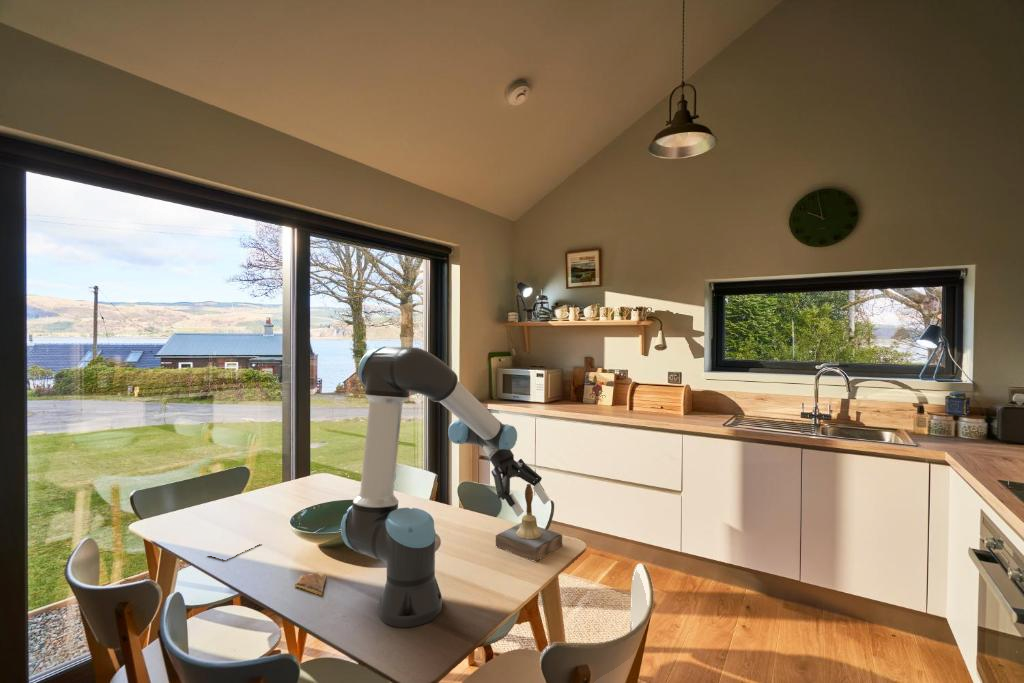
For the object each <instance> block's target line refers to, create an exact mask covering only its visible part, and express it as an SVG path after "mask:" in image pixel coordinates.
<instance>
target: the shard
mask: <svg viewBox="0 0 1024 683" xmlns="http://www.w3.org/2000/svg"><path fill="white" fill-rule="evenodd" d="M326 578H327V576H326V573H323V572H314V573H308V574H302V575H300V577H299V579H298V581H297V582H296V583H295V584H294V588H296V587H299V588H298V589H301V588H302V589H301V590H304V589H305V590H304V591H306V590H307V591H306V592H308V591H310V592H309V593H311V592H313V593H315V594H314V595H316V594H319V595H318V596H323V594H324V593H323V592H324V586H325V584H326V583H325V582H326ZM313 593H312V594H313Z"/></svg>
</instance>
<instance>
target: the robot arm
mask: <svg viewBox="0 0 1024 683" xmlns="http://www.w3.org/2000/svg"><path fill="white" fill-rule="evenodd" d="M357 375H358V379H359V380H360V383H361V384H362V385H363V386H364V397H366V399H367V400H368V403H369V404H368V405H369V407H368V414H367V422H366V424H367V425H366V432H365V433H366V434H365V440H364V441H365V443H364V449H363V450H364V452H363V461H362V462H363V463H362V469H361V470H362V472H361V482H360V488H359V494H358V495H357V496H355V498H353V499H352V505H351V506H349V507H348V509H347V510H346V513H345V514H343V517H342V518H341V519H342V520H341V521H340V522H341V523H340V529H341V536H342V538H341V539H342V540H343V543H344V544H345V545H346V546H347V547H348V548H349V549H352V550H353V551H354V552H357V553H358V554H362V555H365V556H368V557H371V558H373V559H376V560H379V561H382V562H384V563H385V565H386V580H385V584H384V588H383V591H382V592H383V593H382V595H381V598H380V600H379V604H378V605H379V606H378V608H379V609H378V610H379V611H378V614H379V615H378V616H379V618H380V619H381V621H382V622H383V623H385V624H386V625H389V626H391V627H396V628H414V627H418V626H421V625H424V624H426V623H429V622H431V621H432V620H434V619H436V617H438V615H439V614H440V613H441V611H442V608H443V597H442V592H441V589H440V586H439V584H438V581H437V577H436V572H435V571H436V568H435V567H436V529H435V521H434V518H433V516H432V515H431V514H430V513H429V512H427V511H426V510H424V509H420V508H417V507H412V508H411V507H400V508H399V499H398V498H397V497H396V496H395V494H394V492H395V491H394V490H395V481H396V472H397V462H398V461H397V460H398V452H399V441H400V434H401V431H400V430H401V422H402V413H403V412H402V411H403V405H404V403H405V402H407V401H408V400H409V398H410V393H415V394H420V395H423V396H425V397H427V398H428V399H429V400H430V401H432V402H434V403H440V404H441V405H442V406H443V407H445V408H446V409H447V410H448V411H449V412H450V413H452V415H454V416H455V417H456V418H457V419H458V420H457V419H456V420H454V421H452V422H451V423H450V424H449V426H448V429H447V430H448V432H447V434H448V439H449V440H450V441H451V442H452V443H453V444H457V445H459V444H460V445H464V444H469V445H474V446H480V447H481V448H482V449H483V451H484V452H485V454H486V456H487V458H489V461H490V463H491V464H492V465H493V467H494V468H493V469H492V470H491V471H490V473H491V475H492V477H493V479H494V485H495V489H496V496H497V498H499V499H501V500H503V501H504V500H505V501H506V503H507V504H508V506H509V508H511V509H512V510H513V512H514V514H515V515H516V517H520V516H521V515H522V514H523V513H524V512H525V511H524V509H523V508H522V506H521V505H520V503H519V501H518V500H517V498H516V497H515V495H514V494H513V492H512V493H511V491H510V490H511V479H512V478H515V477H516V478H520V479H521V480H523V481H525V482H526V483H527V484H531V486H533V487H532V490H533V491H534V492H535V494H536V495H537V496H538V498H539V499H540V502H541V503H542V504H543V505H546V504H547V503H548V502H549V501H551V500H550V497H549V496H548V494H547V493H546V492H545V489H544V487H543V486H542V484H541V481H542V476H541V475H539V474H538V473H537V472H536V471H534V470H533V469H532V468H531V467H530V466H529V465H527V464H526V463H525V461H524V460H523V459H522V458H520V459H519V460H517V461H516V460H515V456H514V454H513V451H512V449H513V448H514V447H515V446H516V443H517V441H518V440H517V439H518V432H517V429H516V427H515V426H513V425H509V424H504V423H502V422H501V421H500V419H498V418H497V417H496V416H495V415H494V414H493V413H492V412H491V411H489V410H488V409H487V408H486V406H484V404H482V402H480V401H479V400H478V399H477V398H476V396H474V395H473V394H472V393H471V392H470V391H469V390H468V389H467V388H466V387H465V386H463V384H461V383H460V381H459V379H458V378H459V377H458V375H457V373H456V372H455V371H454V370H453V369H452V368H451V367H450V366H449V365H447V364H446V363H445V362H444V361H443V360H441V359H440V358H438V357H437V356H436V355H434V354H432V353H430V352H429V351H427V350H425V349H422V348H419V347H414V346H413V347H411V346H410V347H404V346H403V347H401V346H388V345H387V346H381V347H380V346H379V347H374V348H371V349H370V350H368V351H367V352H366V353H364V355H363V356H362V358H361V360H360V361H359V364H358V369H357Z"/></svg>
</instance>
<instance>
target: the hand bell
mask: <svg viewBox="0 0 1024 683" xmlns="http://www.w3.org/2000/svg"><path fill="white" fill-rule="evenodd" d="M533 498H534V490H533V487H532V485H531V484H530V483H527V484H526V487H525V491H524V501H525V502H526V504H525V505H526V511H525V512H526V514H524V515H522V518H521V522H520V523H521V526H520V528H519V529H518V530H517V532H516V535H517V536H518V537H520V538H522V539H529V540H530V539H537V538H539V537H541V535H542V532H541V530H540V529H539V528H538V527H539V526H538V523H537V517H536V516H535V515H533V511H532V502H533Z"/></svg>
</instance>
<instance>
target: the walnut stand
mask: <svg viewBox="0 0 1024 683" xmlns="http://www.w3.org/2000/svg"><path fill="white" fill-rule="evenodd" d="M521 523H522V522H519V523H518V524H516V525H514V526H511V527H510V528H507V529H506V530H504V531H502V532H499V533H498V534H496V535H495V547H496V546H497V547H496V548H498V547H500V548H502V549H501V550H503V549H505V550H507V551H506V552H508V551H509V552H508V553H510V552H512V553H511V554H513V553H514V555H516V556H518V555H519V557H521V556H522V557H521V558H523V557H525V558H524V559H526V558H528V559H527V560H529V559H531V560H534V561H537V560H539V559H540V558H542V557H544V556H545V557H547V556H549V555H550V554H551V552H552V553H554V552H555V551H557V550H558V549H560V548H561V547H563V534H561V533H559V532H555V531H553V530H549V529H547V528H544V527H540V526H538V528H539V529H540V530H541V532H542V535H541V537H539V538H537V539H530V540H529V539H522V538H520V537H518V536H517V535H516V532H517V530H518V529H519V528H520V526H521ZM500 548H499V549H500ZM505 550H504V551H505ZM553 551H554V552H553ZM549 553H550V554H549ZM548 554H549V555H548ZM546 555H547V556H546ZM545 557H544V558H545ZM542 559H543V558H542ZM531 560H530V561H531ZM540 560H541V559H540ZM540 560H539V561H540ZM534 561H533V562H534ZM537 562H538V561H537Z"/></svg>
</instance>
